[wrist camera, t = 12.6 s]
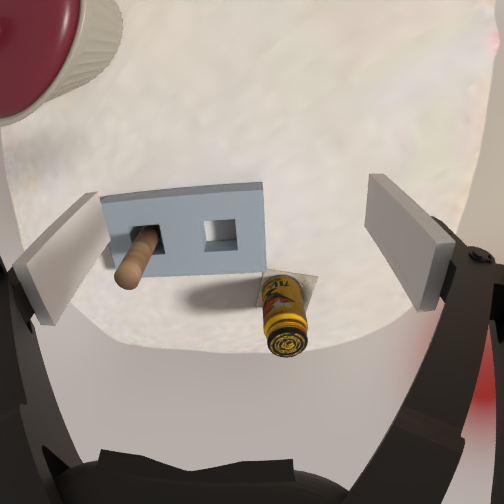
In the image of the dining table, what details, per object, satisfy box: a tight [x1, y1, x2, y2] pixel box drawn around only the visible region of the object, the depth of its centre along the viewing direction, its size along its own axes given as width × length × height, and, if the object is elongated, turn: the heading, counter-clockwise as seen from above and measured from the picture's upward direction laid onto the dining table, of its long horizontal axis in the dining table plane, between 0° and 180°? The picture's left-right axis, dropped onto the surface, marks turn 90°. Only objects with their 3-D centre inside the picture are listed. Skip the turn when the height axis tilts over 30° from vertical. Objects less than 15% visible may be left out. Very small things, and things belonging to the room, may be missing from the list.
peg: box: [114, 224, 161, 290], centre depth 40 cm, size 3×3×12 cm
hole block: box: [101, 182, 267, 277], centre depth 44 cm, size 12×22×3 cm, turn 93°
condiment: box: [256, 269, 318, 357], centre depth 46 cm, size 7×8×12 cm
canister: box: [0, 0, 123, 126], centre depth 22 cm, size 18×18×21 cm
